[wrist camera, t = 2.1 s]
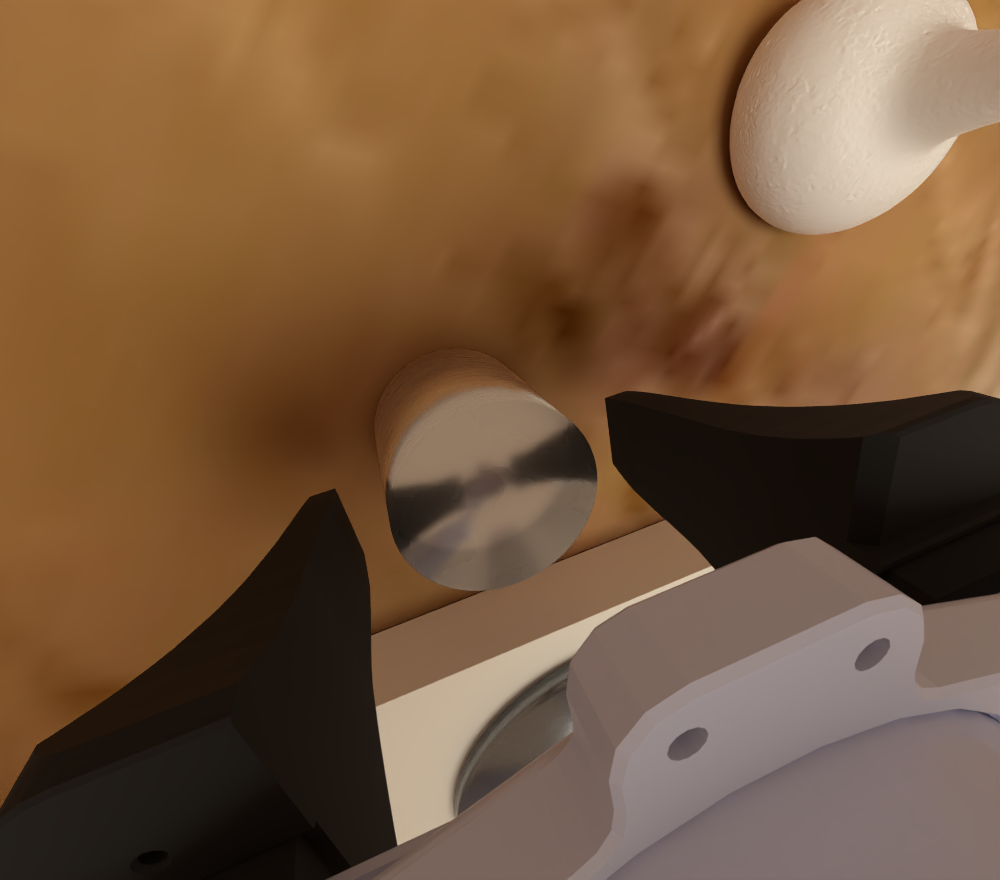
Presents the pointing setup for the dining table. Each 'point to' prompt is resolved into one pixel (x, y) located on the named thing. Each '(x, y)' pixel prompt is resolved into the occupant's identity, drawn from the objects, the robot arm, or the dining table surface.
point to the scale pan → (516, 738)
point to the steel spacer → (479, 471)
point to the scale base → (499, 660)
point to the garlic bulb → (857, 107)
